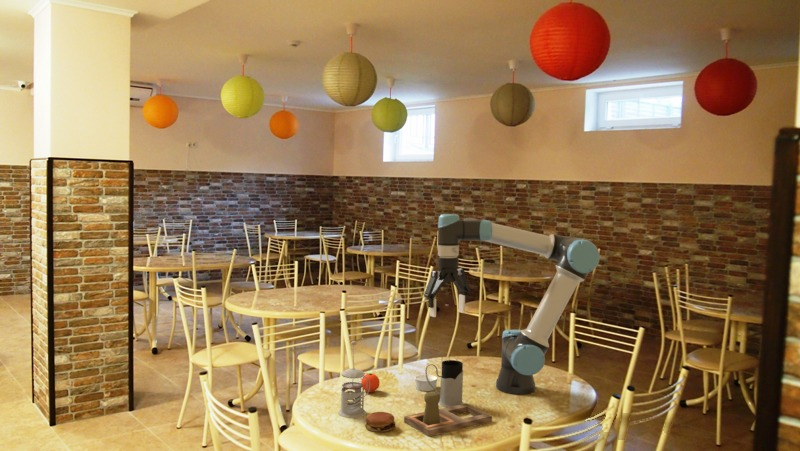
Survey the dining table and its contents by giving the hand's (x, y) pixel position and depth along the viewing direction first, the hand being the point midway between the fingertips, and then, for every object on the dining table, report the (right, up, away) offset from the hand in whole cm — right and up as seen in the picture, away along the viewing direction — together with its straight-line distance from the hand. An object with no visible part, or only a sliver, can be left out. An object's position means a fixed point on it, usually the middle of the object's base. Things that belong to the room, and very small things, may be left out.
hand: (447, 314), depth 237 cm
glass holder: (-2, -32, -3) cm, 32 cm away
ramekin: (-7, -31, +14) cm, 35 cm away
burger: (-24, -33, -28) cm, 49 cm away
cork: (-7, -33, -25) cm, 42 cm away
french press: (-33, -32, -15) cm, 48 cm away
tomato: (-29, -31, +8) cm, 43 cm away
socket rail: (-1, -33, -21) cm, 39 cm away
